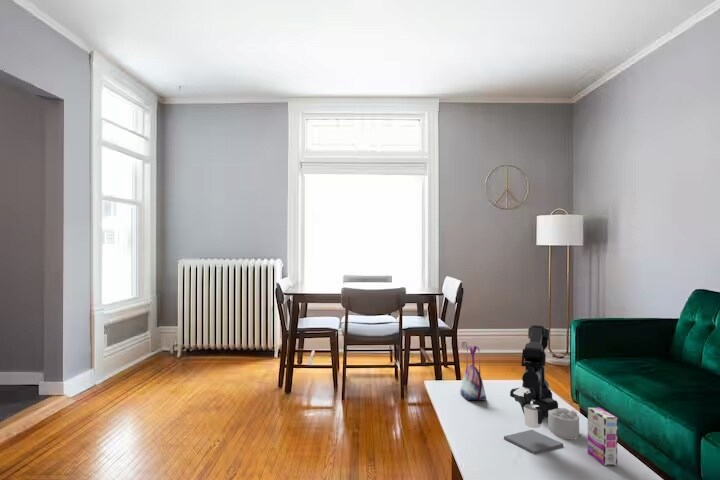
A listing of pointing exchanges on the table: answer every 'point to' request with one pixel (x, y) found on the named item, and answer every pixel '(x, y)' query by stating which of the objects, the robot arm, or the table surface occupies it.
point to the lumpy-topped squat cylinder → (563, 423)
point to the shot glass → (531, 415)
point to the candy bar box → (602, 436)
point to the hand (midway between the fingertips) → (533, 421)
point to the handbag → (472, 380)
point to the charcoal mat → (533, 441)
